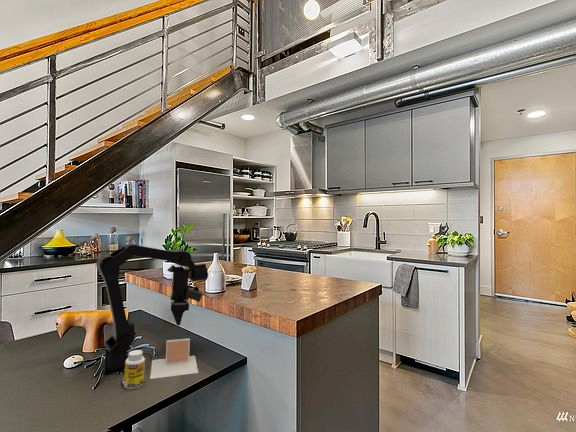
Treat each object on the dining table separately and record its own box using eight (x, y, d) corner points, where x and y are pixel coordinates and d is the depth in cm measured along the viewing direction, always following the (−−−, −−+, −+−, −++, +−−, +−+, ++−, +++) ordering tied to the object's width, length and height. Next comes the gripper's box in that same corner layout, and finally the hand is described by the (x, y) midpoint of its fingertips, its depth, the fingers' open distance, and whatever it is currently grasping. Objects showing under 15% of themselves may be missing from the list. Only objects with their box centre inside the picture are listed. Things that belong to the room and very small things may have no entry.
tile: (165, 364, 111) (166, 342, 111) (165, 362, 113) (166, 340, 113) (188, 362, 114) (190, 339, 114) (188, 359, 115) (189, 338, 116)
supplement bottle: (124, 391, 94) (126, 357, 94) (122, 383, 98) (124, 350, 98) (145, 387, 97) (146, 353, 97) (142, 379, 101) (143, 347, 101)
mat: (150, 380, 101) (150, 378, 101) (152, 361, 114) (152, 360, 114) (198, 373, 106) (198, 372, 106) (195, 356, 119) (195, 355, 119)
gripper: (204, 287, 115) (202, 329, 115) (199, 277, 133) (197, 314, 132) (171, 288, 111) (169, 332, 111) (171, 278, 129) (169, 316, 129)
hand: (178, 323), depth 121 cm, fingers open, 5 cm apart
